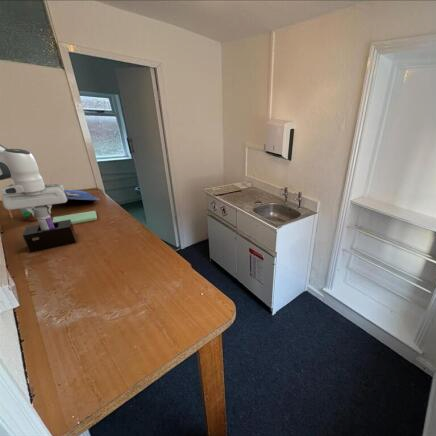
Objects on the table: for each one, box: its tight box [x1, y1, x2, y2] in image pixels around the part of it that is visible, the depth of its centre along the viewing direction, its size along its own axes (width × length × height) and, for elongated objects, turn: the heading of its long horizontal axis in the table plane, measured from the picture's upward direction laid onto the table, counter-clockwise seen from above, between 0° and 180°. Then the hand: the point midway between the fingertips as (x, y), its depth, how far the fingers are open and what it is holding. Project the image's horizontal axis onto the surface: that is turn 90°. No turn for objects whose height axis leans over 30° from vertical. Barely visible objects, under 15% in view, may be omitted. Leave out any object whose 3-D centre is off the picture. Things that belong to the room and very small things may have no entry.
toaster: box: [22, 220, 77, 253], centre depth 114 cm, size 16×12×9 cm
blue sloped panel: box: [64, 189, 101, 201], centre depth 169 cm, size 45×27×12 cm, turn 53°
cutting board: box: [52, 210, 98, 225], centre depth 142 cm, size 20×14×2 cm
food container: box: [19, 207, 38, 222], centre depth 138 cm, size 12×6×10 cm, turn 55°
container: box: [33, 206, 55, 230], centre depth 112 cm, size 5×5×15 cm
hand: (42, 214), depth 110 cm, fingers closed on container, 3 cm apart
